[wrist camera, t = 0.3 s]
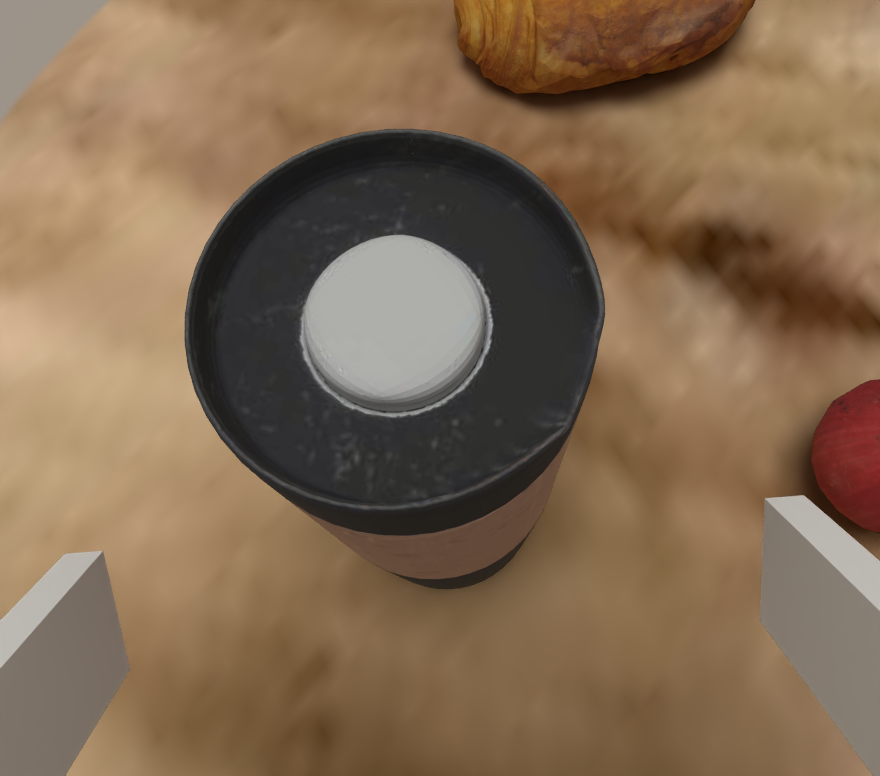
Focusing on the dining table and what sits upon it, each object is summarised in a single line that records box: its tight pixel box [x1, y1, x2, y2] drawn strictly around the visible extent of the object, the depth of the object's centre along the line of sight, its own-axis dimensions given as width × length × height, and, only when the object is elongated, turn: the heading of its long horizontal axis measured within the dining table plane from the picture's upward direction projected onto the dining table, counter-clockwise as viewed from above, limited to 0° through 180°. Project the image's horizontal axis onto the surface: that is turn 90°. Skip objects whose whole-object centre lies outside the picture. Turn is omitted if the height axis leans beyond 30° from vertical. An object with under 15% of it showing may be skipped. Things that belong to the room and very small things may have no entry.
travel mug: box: [185, 129, 605, 589], centre depth 23 cm, size 8×8×20 cm
